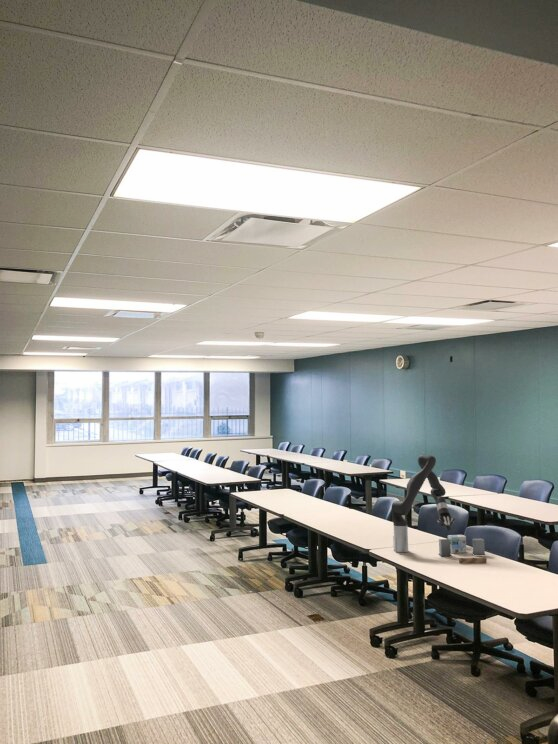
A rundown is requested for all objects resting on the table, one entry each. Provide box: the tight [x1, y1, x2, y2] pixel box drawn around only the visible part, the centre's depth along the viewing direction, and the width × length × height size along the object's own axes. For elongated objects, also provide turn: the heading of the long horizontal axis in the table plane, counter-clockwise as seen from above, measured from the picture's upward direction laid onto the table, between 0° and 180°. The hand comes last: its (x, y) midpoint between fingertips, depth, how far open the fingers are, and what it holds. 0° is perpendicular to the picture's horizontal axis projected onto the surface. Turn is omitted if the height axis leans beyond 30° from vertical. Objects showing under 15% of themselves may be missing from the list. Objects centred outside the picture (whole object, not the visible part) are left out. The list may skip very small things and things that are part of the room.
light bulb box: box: [447, 534, 467, 554], centre depth 403 cm, size 11×7×11 cm, turn 97°
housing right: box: [472, 537, 486, 556], centre depth 393 cm, size 7×6×10 cm
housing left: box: [438, 538, 452, 558], centre depth 392 cm, size 7×6×10 cm
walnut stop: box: [458, 556, 488, 565], centre depth 371 cm, size 16×2×3 cm, turn 91°
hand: (449, 530), depth 420 cm, fingers closed
